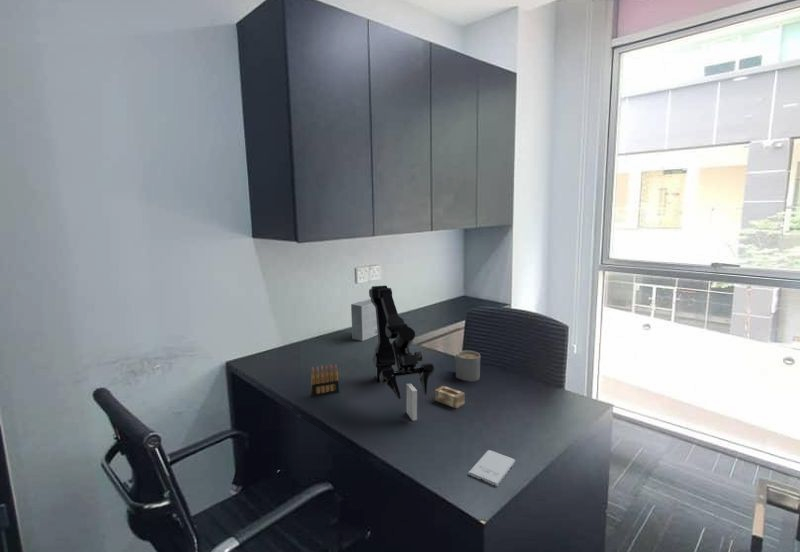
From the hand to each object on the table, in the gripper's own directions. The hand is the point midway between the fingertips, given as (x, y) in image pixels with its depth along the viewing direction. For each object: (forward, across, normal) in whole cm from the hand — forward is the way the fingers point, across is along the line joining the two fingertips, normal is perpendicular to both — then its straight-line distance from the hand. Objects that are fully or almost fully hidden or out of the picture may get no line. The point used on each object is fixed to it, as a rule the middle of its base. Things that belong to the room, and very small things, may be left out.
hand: (412, 396), depth 137 cm
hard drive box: (-61, +6, +73) cm, 95 cm away
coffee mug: (-14, +34, +25) cm, 45 cm away
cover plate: (+5, 0, +6) cm, 8 cm away
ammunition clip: (-14, -26, +26) cm, 39 cm away
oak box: (+1, +17, +10) cm, 20 cm away
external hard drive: (+29, +12, -16) cm, 35 cm away
